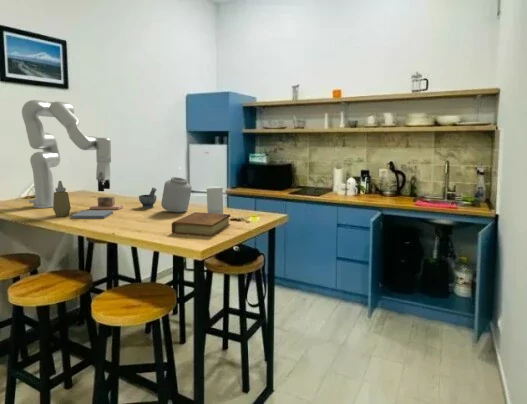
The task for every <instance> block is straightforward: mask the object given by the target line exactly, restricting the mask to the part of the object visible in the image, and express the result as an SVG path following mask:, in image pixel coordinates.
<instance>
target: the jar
mask: <svg viewBox="0 0 527 404" xmlns="http://www.w3.org/2000/svg"><path fill="white" fill-rule="evenodd" d="M179 170H181V167H179ZM185 175H188V173H186V174H185ZM188 181H189V180H188V179H186V178H183V177H176V176H175V177H174V176H172V177H170V179H169V180H168V179H167V180H166V181H165V182H164V186H163V191H162V198H161V205H160V206H161V207H162V208H163V210H165V211H168V212H170V213H177V214H178V213H180V214H181V213H185V212H187V211H188V208H189V204H190V200H191V199H190V198H191V193H192V190H193V189H192V185H191V184H190V183H189V182H188Z"/></svg>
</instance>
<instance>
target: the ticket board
mask: <svg viewBox="0 0 527 404" xmlns="http://www.w3.org/2000/svg"><path fill="white" fill-rule="evenodd" d="M112 214H114V210H111V209H103V210H102V209H98V210H97V209H93V210H92V209H89V210H86V209H85V210H80V211H78V212H76V213H74V214H72V215H70V219H75V220H76V219H79V220H81V219H87V220H88V219H90V220H92V219H94V220H95V219H96V220H97V219H98V220H99V219H102V220H103V219H104V220H105V219H106V218H108V217H109V216H111V215H112Z"/></svg>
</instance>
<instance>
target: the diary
mask: <svg viewBox="0 0 527 404" xmlns="http://www.w3.org/2000/svg"><path fill="white" fill-rule="evenodd" d="M230 217H231V214H229V213H227V214H225V213H223V214H215V213H207V212H199V211H198V212H197V211H195V212H193V213H190V214H188V215H185V216H184V217H181V218H179V219H177V220H175V221H172V222H171V233H172V234H173V233H176V234H175V235H186V234H189V236H199V235H202V236H201V237H212V236H213V237H214V236H216V235H217V234H219V233H221V232H222V231H224V230H225V229H226V227H227V226H228V227H230V226H231V223H230V221H229V218H230ZM229 225H230V226H229ZM228 227H227V228H228ZM224 228H225V229H224ZM223 229H224V230H223ZM221 230H222V231H221ZM218 232H219V233H218ZM215 234H216V235H215Z"/></svg>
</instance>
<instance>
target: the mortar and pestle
mask: <svg viewBox="0 0 527 404" xmlns="http://www.w3.org/2000/svg"><path fill="white" fill-rule="evenodd" d="M157 190H158V189H157V188H156V187H152V188H151V191H150V192H149V194H141V195H138V201H139V204H141V205H142V206H141V207H142V208H143V209H153V208H154V205H155V203H156V202H157V195H156V191H157Z"/></svg>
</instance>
